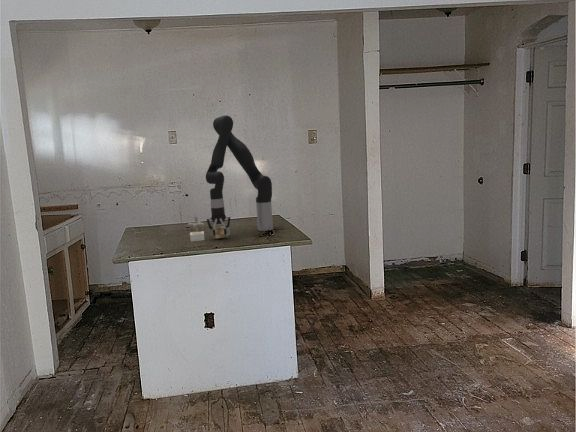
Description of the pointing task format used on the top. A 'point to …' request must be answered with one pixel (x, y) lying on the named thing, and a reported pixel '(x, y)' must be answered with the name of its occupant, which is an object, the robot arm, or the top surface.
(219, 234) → the oak block
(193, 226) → the pipe connector
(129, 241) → the top surface
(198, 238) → the white base
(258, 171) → the robot arm
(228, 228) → the sage block
